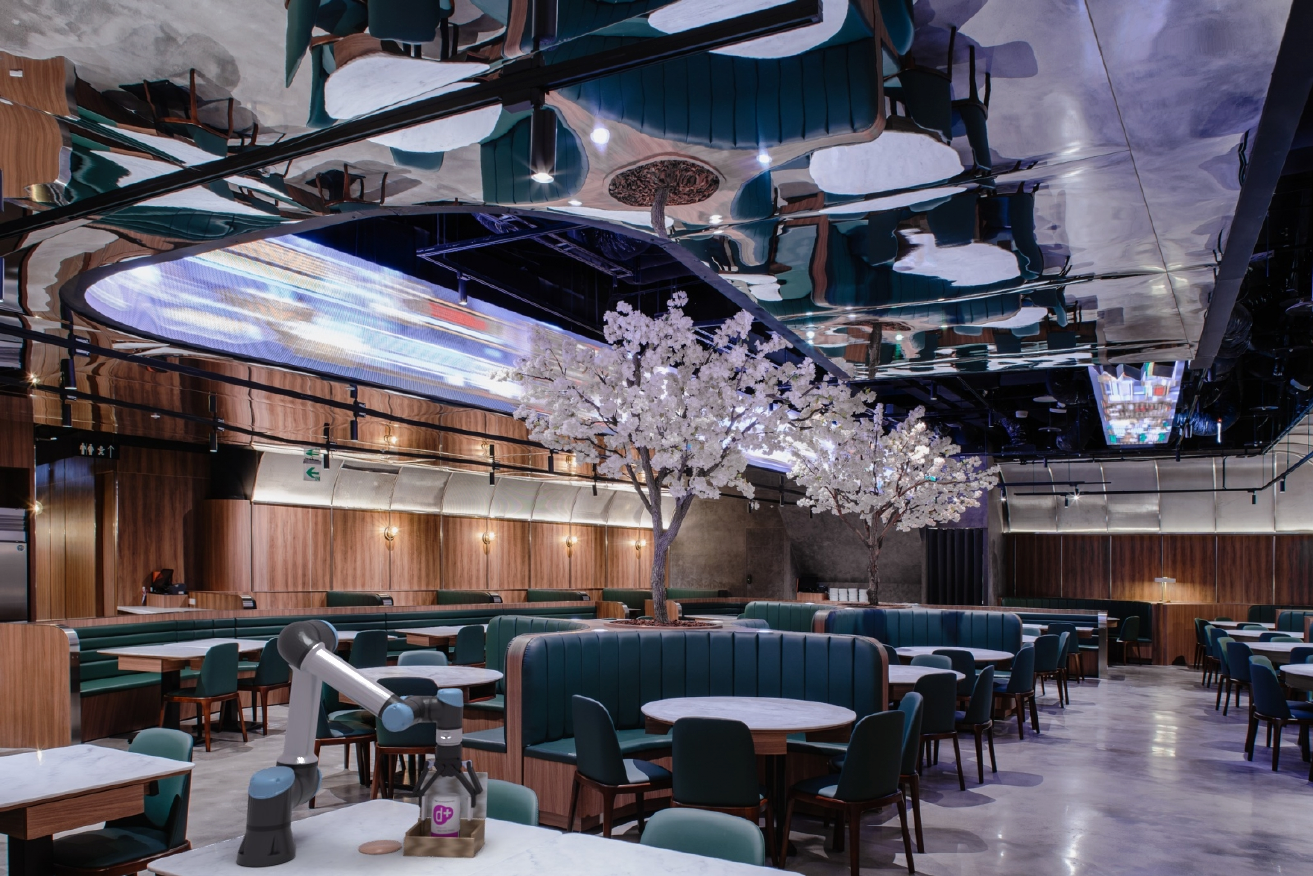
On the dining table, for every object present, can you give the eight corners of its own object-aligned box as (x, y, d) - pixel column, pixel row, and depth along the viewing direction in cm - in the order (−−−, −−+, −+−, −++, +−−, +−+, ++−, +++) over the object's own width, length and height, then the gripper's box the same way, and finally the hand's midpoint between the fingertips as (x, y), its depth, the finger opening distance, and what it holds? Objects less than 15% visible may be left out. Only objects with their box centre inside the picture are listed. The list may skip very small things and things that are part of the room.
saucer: (352, 854, 253) (352, 851, 254) (367, 841, 265) (368, 839, 265) (393, 855, 253) (393, 853, 253) (407, 842, 265) (407, 840, 265)
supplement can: (452, 855, 253) (454, 799, 255) (425, 853, 255) (427, 798, 257) (463, 846, 261) (465, 793, 263) (437, 844, 263) (439, 791, 265)
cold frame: (403, 856, 252) (406, 782, 255) (419, 841, 266) (422, 771, 269) (472, 857, 251) (475, 783, 254) (485, 843, 265) (487, 772, 268)
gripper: (403, 745, 259) (400, 822, 256) (487, 745, 258) (486, 823, 255) (411, 740, 267) (409, 815, 264) (493, 741, 265) (492, 816, 262)
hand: (447, 819), depth 259 cm, fingers open, 13 cm apart
